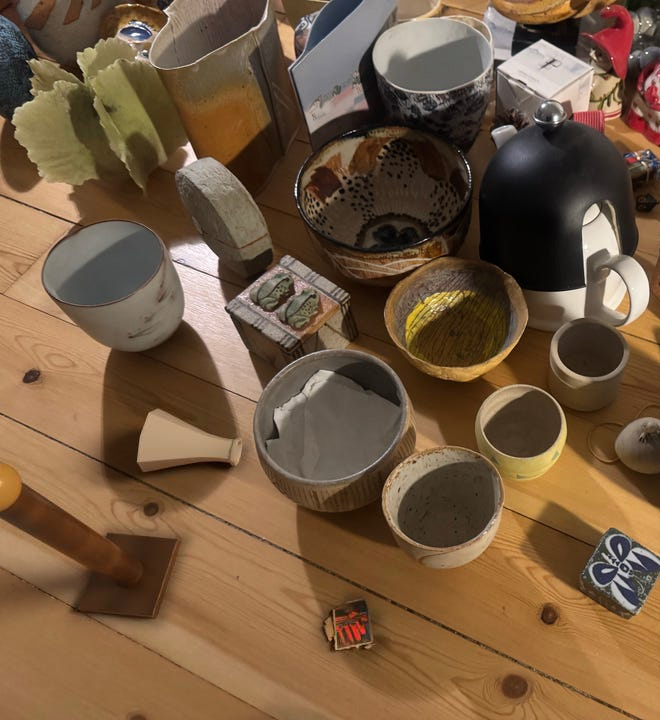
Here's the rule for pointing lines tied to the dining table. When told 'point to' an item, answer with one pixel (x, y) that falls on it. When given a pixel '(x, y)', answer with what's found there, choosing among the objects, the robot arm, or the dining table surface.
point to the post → (94, 551)
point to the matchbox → (350, 625)
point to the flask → (181, 444)
